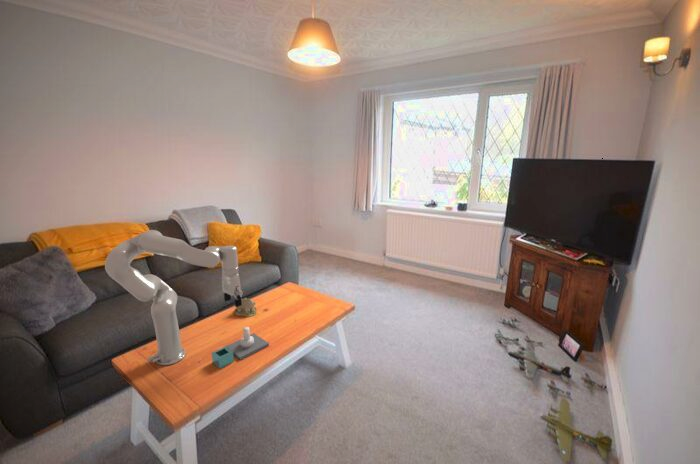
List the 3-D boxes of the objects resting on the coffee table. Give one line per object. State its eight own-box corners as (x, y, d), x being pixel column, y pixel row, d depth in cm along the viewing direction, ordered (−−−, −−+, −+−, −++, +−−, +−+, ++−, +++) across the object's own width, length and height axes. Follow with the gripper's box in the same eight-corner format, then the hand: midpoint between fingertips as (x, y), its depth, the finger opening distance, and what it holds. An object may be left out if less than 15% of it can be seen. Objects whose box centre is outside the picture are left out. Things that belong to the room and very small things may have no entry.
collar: (219, 368, 144) (218, 359, 143) (212, 362, 148) (211, 352, 147) (233, 361, 149) (232, 352, 148) (226, 355, 154) (225, 346, 152)
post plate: (240, 360, 150) (238, 340, 147) (225, 348, 159) (224, 330, 156) (268, 345, 162) (267, 327, 159) (254, 335, 171) (252, 318, 168)
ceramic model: (259, 308, 201) (258, 294, 199) (254, 317, 190) (253, 302, 188) (237, 308, 201) (236, 294, 199) (231, 317, 190) (229, 302, 188)
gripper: (214, 269, 156) (217, 300, 160) (233, 277, 146) (235, 311, 150) (227, 265, 162) (230, 296, 166) (247, 272, 151) (249, 305, 155)
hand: (233, 303), depth 158 cm, fingers open, 9 cm apart
